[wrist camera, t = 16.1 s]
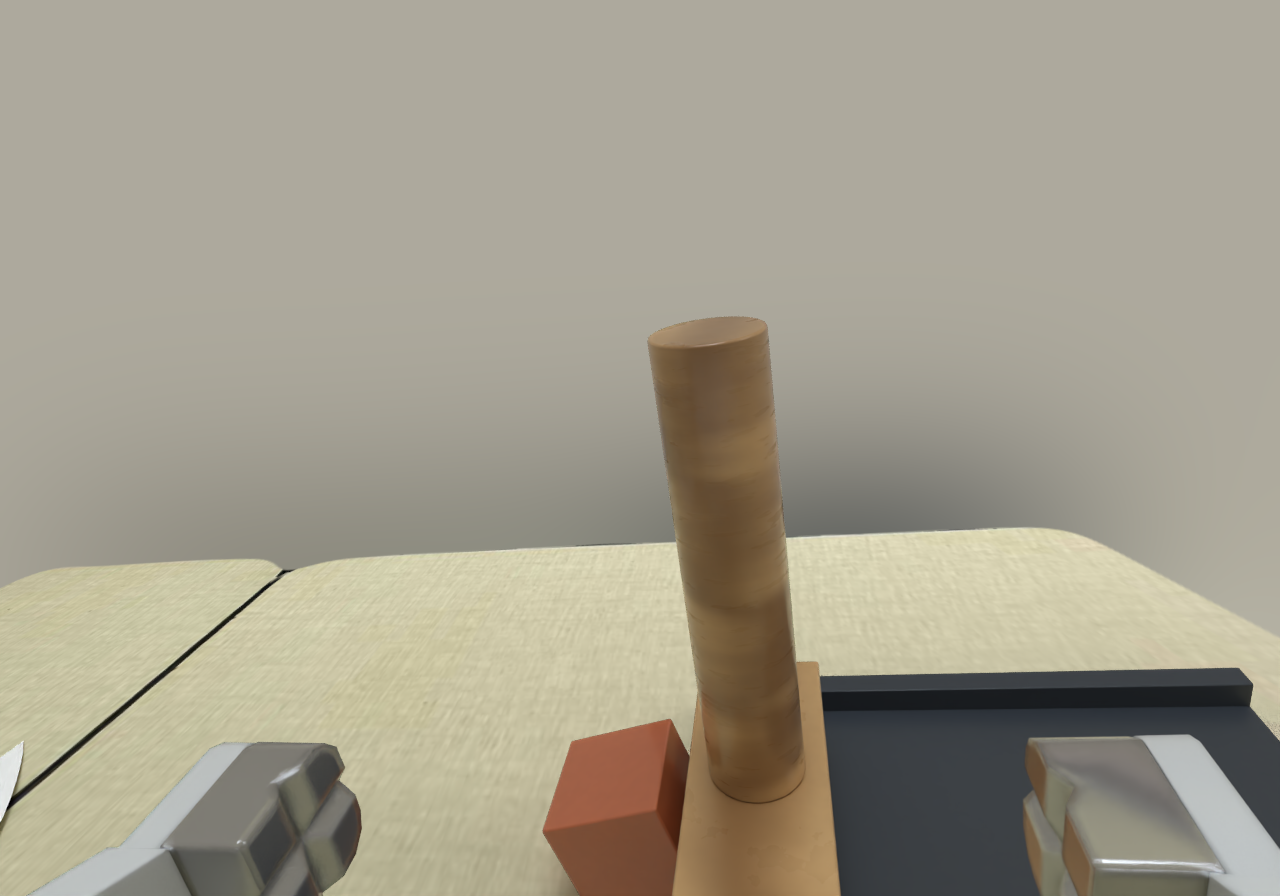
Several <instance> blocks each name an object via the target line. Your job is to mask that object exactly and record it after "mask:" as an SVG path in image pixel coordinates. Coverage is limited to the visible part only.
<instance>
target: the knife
mask: <svg viewBox="0 0 1280 896" xmlns="http://www.w3.org/2000/svg"><path fill="white" fill-rule="evenodd" d="M22 754H23V742H21V743H20V744H18V745H17V746H16V747H14V748H13V749H11V750H10V751H8V752H7V753H6V754H4V755H3V756H2V757H1V758H0V822H1V820H2V818H3V816H4V813H5V811H6V808H7V806H8V804H9V801H10V799H11V796H12V793H13V790H14V787H15V783H16V780H17V777H18V773H19V769H20V765H21V760H22Z"/></svg>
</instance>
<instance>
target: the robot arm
mask: <svg viewBox="0 0 1280 896" xmlns="http://www.w3.org/2000/svg"><path fill="white" fill-rule="evenodd" d="M344 769H345V766H344V764H343V761H342V759H341V757H340V754H339V752H338V750H337V747H335V746H332V745H328V744H325V743H282V742H257V743H239V742H223V743H221V744H219V745H217V746H214V747H212V748H210V749H209V750H208V751H207V752H206V753H205V754H204V755H203V756H202V757H201V759H200V760H199V761H198V762H197V763H196V764H195V765H194V766H193V767H192V768H191V769H190V771H189V772H188V773H187V774H186V775H185V776H184V777H183V778H182V779H181V780H180V781H179V782H178V784H177V785H176V786H175V787H174V788H173V789H172V790H171V791H170V792H169V793H168V794H167V795H166V797H165V798H164V799H163V800H162V801H161V802H160V803H159V804H158V805H157V806H156V807H155V808H154V810H153V811H152V812H151V813H150V814H149V815H148V816H147V817H146V818H145V819H144V820H143V821H142V823H141V824H140V825H139V826H138V827H137V828H136V829H135V830H134V831H133V832H132V833H131V834H130V836H129V837H128V838H127V839H126V840H125V841H124V842H123V843H122V844H121V845H120V846H119V847H114V848H106V849H104V850H102V851H101V852H99V853H97V854H96V855H94V856H92V857H91V858H89V859H87V860H85V861H84V862H82V863H80V864H79V865H77V866H75V867H74V868H72V869H70V870H69V871H67V872H65V873H64V874H62V875H60V876H59V877H57V878H55V879H53V880H52V881H50V882H48V883H47V884H45V885H43V886H42V887H40V888H38V889H37V890H35V891H33V892H32V893H30V894H28V895H27V896H323V892H324V891H325V890H327V889H328V888H329V887H330V886H332V885H333V884H334V883H336V882H337V881H338V880H339V879H341V878H342V877H343V876H344V875H345V873H346V871H347V869H348V867H349V866H350V864H351V862H352V860H353V858H354V856H355V855H356V851H357V847H358V842H359V838H360V834H361V830H362V826H361V810H360V807H359V804H358V801H357V798H356V796H355V794H354V793H353V792H352V791H350V790H349V789H348V788H347V787H346V786H345V785H344V784H342V783H341V782H340V781H339V780H340V778H341V775H342V773H343V771H344ZM1025 769H1026V772H1027V774H1028V777H1029V779H1030V782H1031V784H1032V787H1033V790H1032V791H1031V792H1030V793H1029V794H1028V795H1027V796H1026V797H1025V798H1024V799H1023V828H1024V835H1025V842H1026V849H1027V854H1028V858H1029V862H1030V865H1031V869H1032V873H1033V876H1034V879H1035V882H1036V884H1037V887H1038V890H1039V893H1040V896H1280V849H1279V847H1278V846H1277V845H1276V843H1275V842H1274V841H1273V839H1272V838H1271V837H1270V835H1269V834H1268V833H1267V831H1266V830H1265V829H1264V827H1263V826H1262V824H1261V823H1260V822H1259V820H1258V819H1257V818H1256V816H1255V815H1254V814H1253V812H1252V811H1251V810H1250V808H1249V807H1248V806H1247V804H1246V803H1245V802H1244V800H1243V799H1242V797H1241V796H1240V795H1239V793H1238V792H1237V791H1236V789H1235V788H1234V787H1233V785H1232V784H1231V783H1230V781H1229V780H1228V779H1227V777H1226V776H1225V775H1224V773H1223V772H1222V770H1221V769H1220V768H1219V766H1218V765H1217V764H1216V762H1215V761H1214V760H1213V758H1212V757H1211V756H1210V754H1209V753H1208V752H1207V750H1206V749H1205V748H1204V746H1203V745H1202V743H1201V742H1200V741H1198V740H1197V739H1195V738H1194V737H1192V736H1191V735H1144V736H1134V737H1129V736H1121V737H1056V738H1029V740H1028V743H1027V745H1026V749H1025Z"/></svg>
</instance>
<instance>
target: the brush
mask: <svg viewBox="0 0 1280 896" xmlns="http://www.w3.org/2000/svg"><path fill="white" fill-rule="evenodd" d="M648 349H649V356H650V363H651V370H652V377H653V384H654V390H655V397H656V404H657V411H658V418H659V425H660V432H661V439H662V446H663V453H664V460H665V467H666V474H667V481H668V486H669V487H668V488H669V494H670V501H671V507H672V515H673V522H674V529H675V536H676V543H677V550H678V557H679V564H680V571H681V578H682V584H683V591H684V598H685V605H686V612H687V619H688V626H689V633H690V640H691V647H692V654H693V661H694V668H695V674H696V681H697V688H698V694H697V701H696V709H695V717H694V725H693V733H692V741H691V749H690V756H689V764H688V772H687V780H686V788H685V796H684V804H683V811H682V819H681V827H680V835H679V843H678V851H677V858H676V866H675V874H674V882H673V890H672V896H841V890H840V880H839V869H838V859H837V849H836V839H835V828H834V818H833V808H832V797H831V787H830V777H829V766H828V756H827V746H826V736H825V725H824V715H823V705H822V694H821V684H820V674H819V664H818V662H796V651H795V639H794V628H793V616H792V605H791V593H790V582H789V570H788V558H787V547H786V535H785V524H784V512H783V500H782V489H781V478H780V466H779V454H778V442H777V432H776V419H775V408H774V396H773V385H772V374H771V361H770V351H769V339H768V327H767V324H766V323H765V322H764V321H762V320H760V319H756V318H750V317H716V318H707V319H700V320H694V321H689V322H684V323H679V324H676V325H672V326H669V327H666V328H663V329H661V330H659V331H657V332H655V333H653V334H652V335H650V337H649V338H648Z"/></svg>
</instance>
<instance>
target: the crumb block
mask: <svg viewBox="0 0 1280 896" xmlns="http://www.w3.org/2000/svg"><path fill="white" fill-rule="evenodd" d="M688 764H689V755H688V753H687V751H686V749H685V747H684V745H683V743H682V741H681V739H680V736H679V734H678V732H677V730H676V728H675V726H674V724H673V722H672V720H671V719H666V720H662V721H657V722H653V723H649V724H644V725H640V726H636V727H631V728H627V729H623V730H618V731H614V732H609V733H605V734H601V735H596V736H592V737H588V738H583V739H579V740H575V741H572V742H571V744H570V747H569V750H568V754H567V757H566V760H565V763H564V766H563V769H562V772H561V775H560V778H559V781H558V784H557V787H556V790H555V793H554V797H553V800H552V803H551V806H550V809H549V812H548V815H547V818H546V821H545V824H544V827H543V834H544V836H545V838H546V839H547V841H548V843H549V844H550V846H551V848H552V849H553V851H554V853H555V855H556V856H557V858H558V860H559V861H560V863H561V865H562V866H563V868H564V870H565V871H566V873H567V875H568V877H569V878H570V880H571V882H572V883H573V885H574V887H575V888H576V890H577V892H578V894H579V895H580V896H672V890H673V882H674V874H675V866H676V858H677V851H678V843H679V835H680V827H681V819H682V811H683V804H684V796H685V788H686V780H687V772H688Z"/></svg>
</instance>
